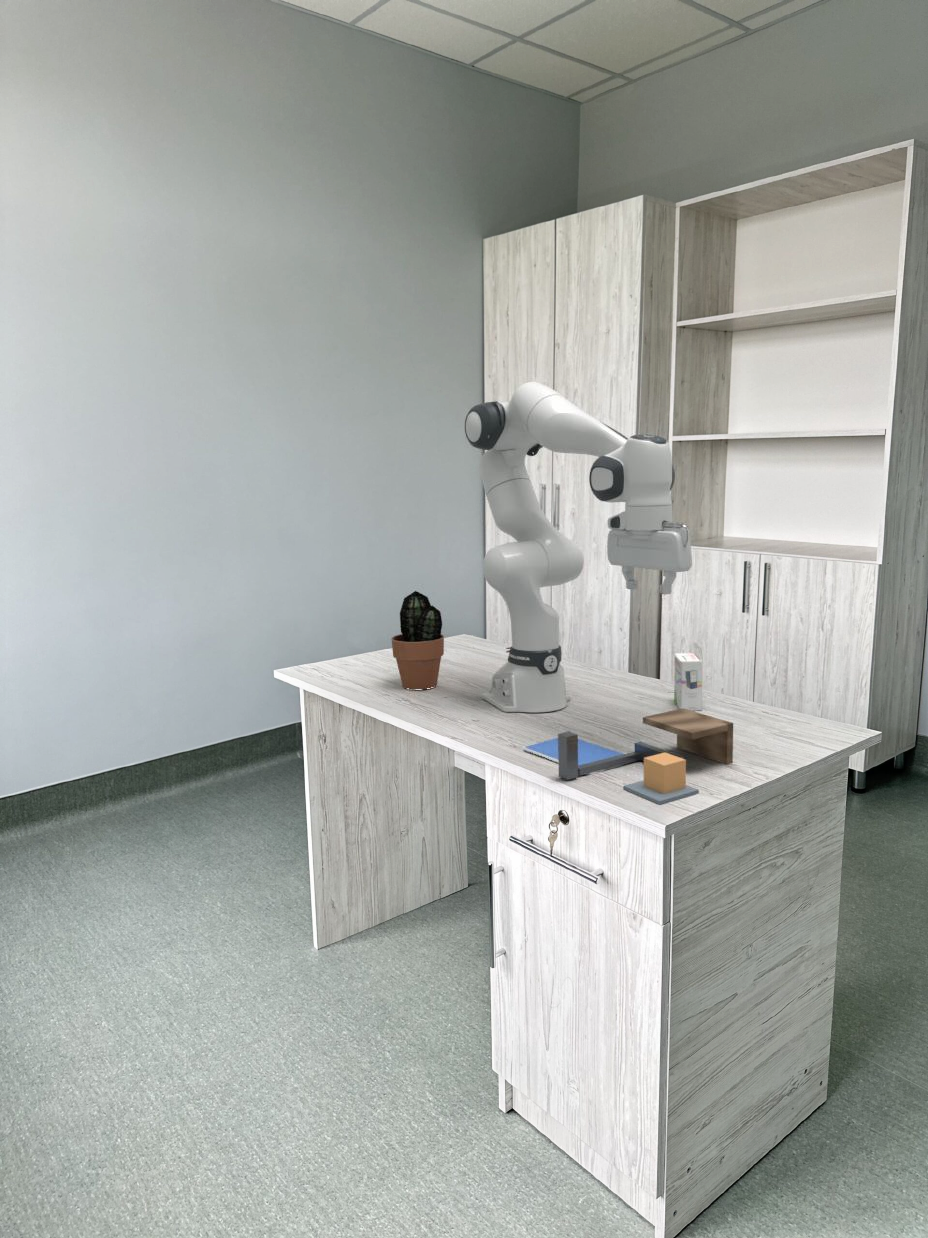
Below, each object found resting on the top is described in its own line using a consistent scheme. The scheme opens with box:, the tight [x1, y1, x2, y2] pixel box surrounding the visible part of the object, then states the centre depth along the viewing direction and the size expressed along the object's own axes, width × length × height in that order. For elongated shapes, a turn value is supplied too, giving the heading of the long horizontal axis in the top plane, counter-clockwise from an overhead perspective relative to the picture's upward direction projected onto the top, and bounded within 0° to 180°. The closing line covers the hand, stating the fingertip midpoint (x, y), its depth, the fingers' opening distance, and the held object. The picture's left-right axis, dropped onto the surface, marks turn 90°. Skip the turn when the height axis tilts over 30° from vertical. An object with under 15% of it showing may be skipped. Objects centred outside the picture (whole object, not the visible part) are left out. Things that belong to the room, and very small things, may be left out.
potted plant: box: [391, 590, 445, 689], centre depth 233 cm, size 14×14×25 cm
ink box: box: [673, 640, 703, 712], centre depth 207 cm, size 9×5×15 cm, turn 178°
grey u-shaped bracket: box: [557, 730, 684, 781], centre depth 163 cm, size 12×19×8 cm, turn 121°
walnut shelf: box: [642, 708, 734, 765], centre depth 171 cm, size 13×10×8 cm
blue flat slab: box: [523, 737, 625, 775], centre depth 176 cm, size 19×13×1 cm, turn 36°
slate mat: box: [622, 779, 700, 806], centre depth 155 cm, size 9×9×1 cm
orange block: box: [643, 753, 687, 794], centre depth 155 cm, size 5×5×5 cm
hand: (648, 591), depth 175 cm, fingers open, 8 cm apart
